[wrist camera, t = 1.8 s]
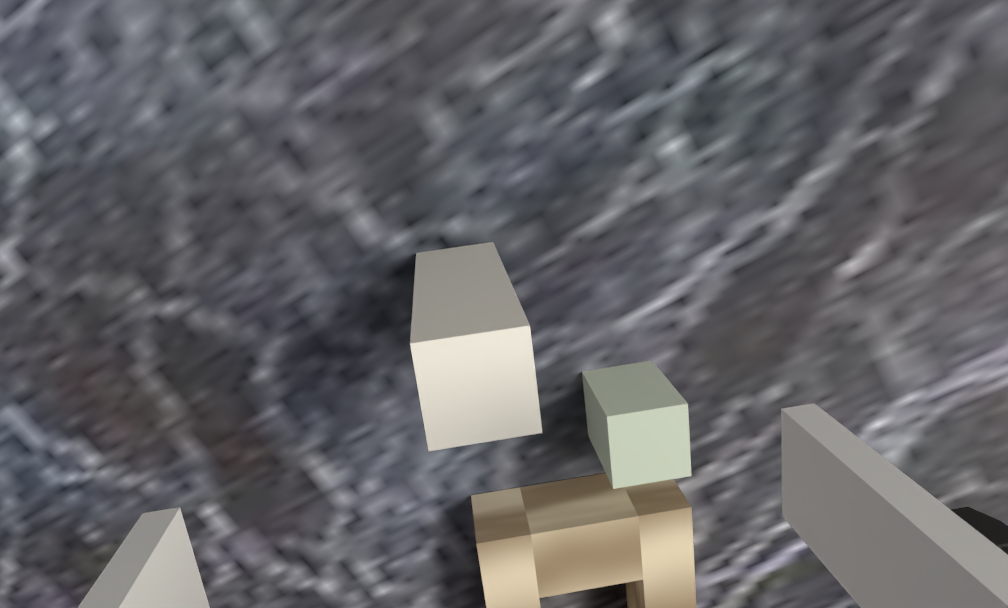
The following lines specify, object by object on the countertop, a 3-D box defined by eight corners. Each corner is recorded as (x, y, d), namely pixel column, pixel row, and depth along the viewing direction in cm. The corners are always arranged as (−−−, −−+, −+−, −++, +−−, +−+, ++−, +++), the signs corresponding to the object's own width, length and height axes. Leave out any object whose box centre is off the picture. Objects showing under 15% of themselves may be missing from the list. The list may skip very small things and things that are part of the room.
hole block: (470, 495, 35) (476, 543, 32) (663, 463, 36) (691, 507, 32) (500, 682, 39) (508, 745, 35) (675, 649, 40) (701, 709, 36)
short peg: (581, 371, 34) (606, 416, 29) (651, 360, 34) (687, 403, 30) (588, 435, 35) (613, 488, 30) (655, 424, 35) (691, 475, 31)
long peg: (416, 252, 32) (410, 343, 20) (492, 242, 32) (529, 325, 20) (427, 325, 33) (428, 451, 21) (502, 314, 33) (542, 432, 21)
